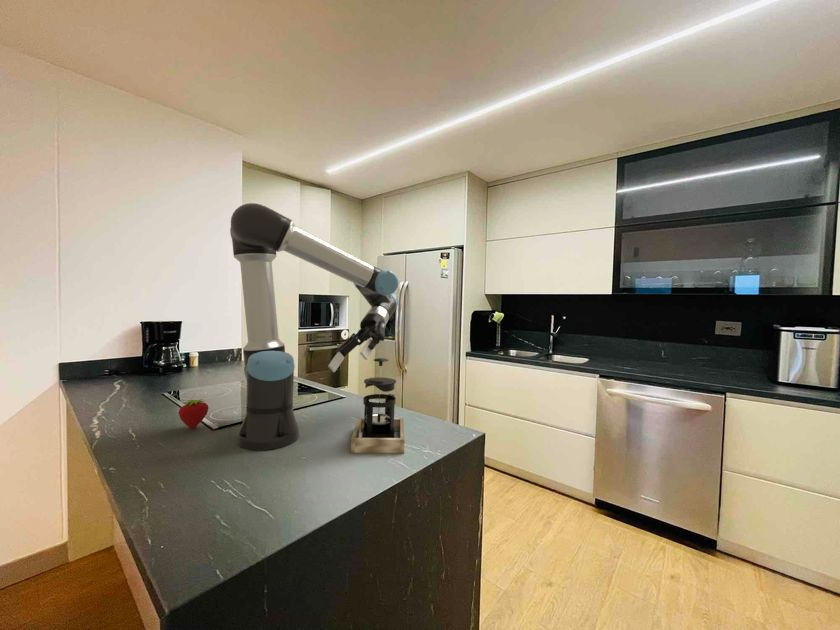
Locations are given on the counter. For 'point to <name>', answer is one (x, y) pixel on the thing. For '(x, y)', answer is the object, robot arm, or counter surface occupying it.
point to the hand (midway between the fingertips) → (346, 362)
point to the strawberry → (193, 412)
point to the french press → (379, 422)
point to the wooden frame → (378, 440)
